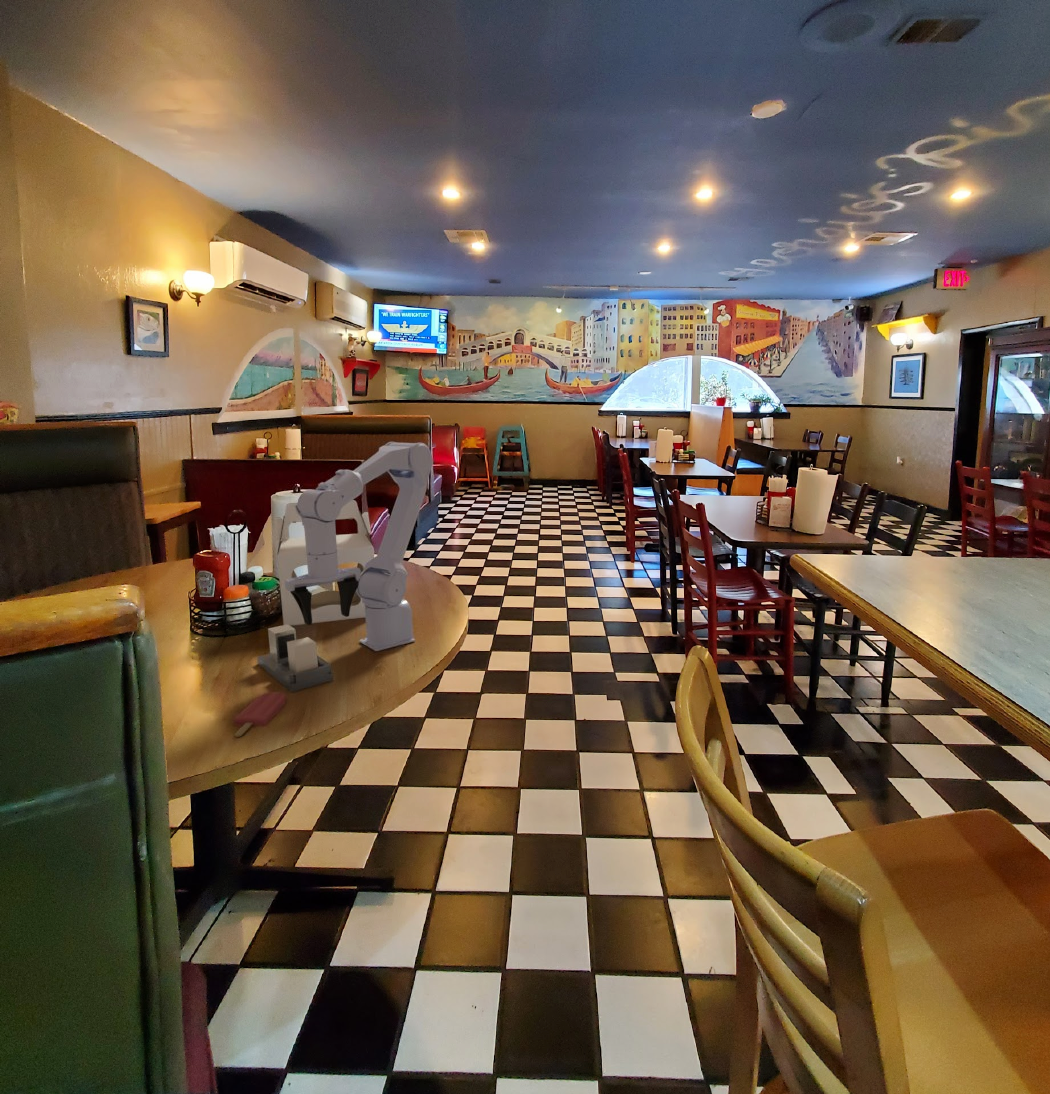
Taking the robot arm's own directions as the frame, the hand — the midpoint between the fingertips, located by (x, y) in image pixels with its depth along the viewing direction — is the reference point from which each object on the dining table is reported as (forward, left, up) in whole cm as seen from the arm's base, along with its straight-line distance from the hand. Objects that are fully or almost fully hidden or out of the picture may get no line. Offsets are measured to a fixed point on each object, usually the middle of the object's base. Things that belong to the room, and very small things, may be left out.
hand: (327, 619), depth 135 cm
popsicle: (+19, +14, -10) cm, 25 cm away
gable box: (-14, -32, -10) cm, 36 cm away
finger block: (+7, +4, -8) cm, 11 cm away
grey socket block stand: (+7, -2, -9) cm, 12 cm away
